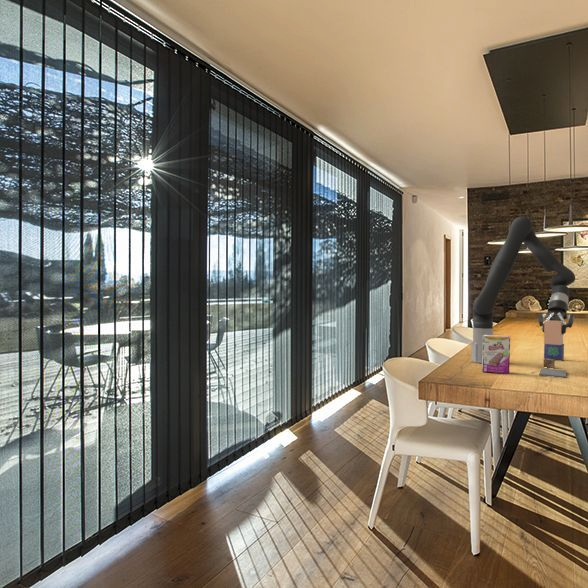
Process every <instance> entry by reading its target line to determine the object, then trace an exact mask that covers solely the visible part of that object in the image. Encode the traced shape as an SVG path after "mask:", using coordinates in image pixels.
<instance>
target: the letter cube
mask: <svg viewBox="0 0 588 588" xmlns="http://www.w3.org/2000/svg"><path fill="white" fill-rule="evenodd" d="M555 361H556V360H555V359H544V358H543V367H547V368H546V369H549V368H553V369H555ZM543 367H542V368H543Z"/></svg>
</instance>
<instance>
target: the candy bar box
mask: <svg viewBox="0 0 588 588" xmlns="http://www.w3.org/2000/svg"><path fill="white" fill-rule="evenodd" d="M510 353H511V336H510V335H495V334H493V335H483V355H482V363H481V366H482V367H481V370H482V373H489V374H503V375H504V374H507V375H509V374H510V358H511V354H510Z"/></svg>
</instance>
